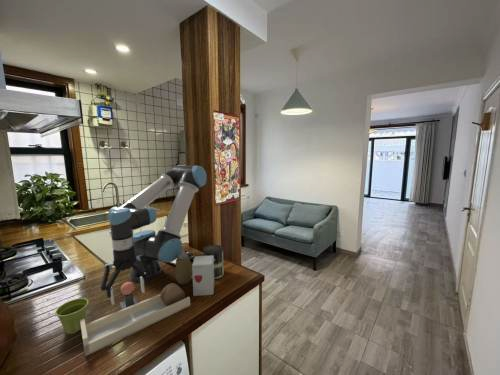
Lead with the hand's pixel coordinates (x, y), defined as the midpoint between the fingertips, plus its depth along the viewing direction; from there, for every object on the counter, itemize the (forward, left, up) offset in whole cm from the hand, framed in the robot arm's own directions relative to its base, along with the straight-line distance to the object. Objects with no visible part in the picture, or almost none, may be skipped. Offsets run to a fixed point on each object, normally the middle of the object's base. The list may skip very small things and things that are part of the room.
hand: (128, 297), depth 93 cm
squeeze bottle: (-1, +25, -4) cm, 25 cm away
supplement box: (+12, +29, -4) cm, 32 cm away
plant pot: (+1, -18, -4) cm, 18 cm away
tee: (0, 0, -3) cm, 3 cm away
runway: (+12, +1, -3) cm, 13 cm away
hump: (+12, +14, -3) cm, 19 cm away
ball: (0, 0, +4) cm, 4 cm away
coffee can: (+3, +40, -4) cm, 40 cm away
